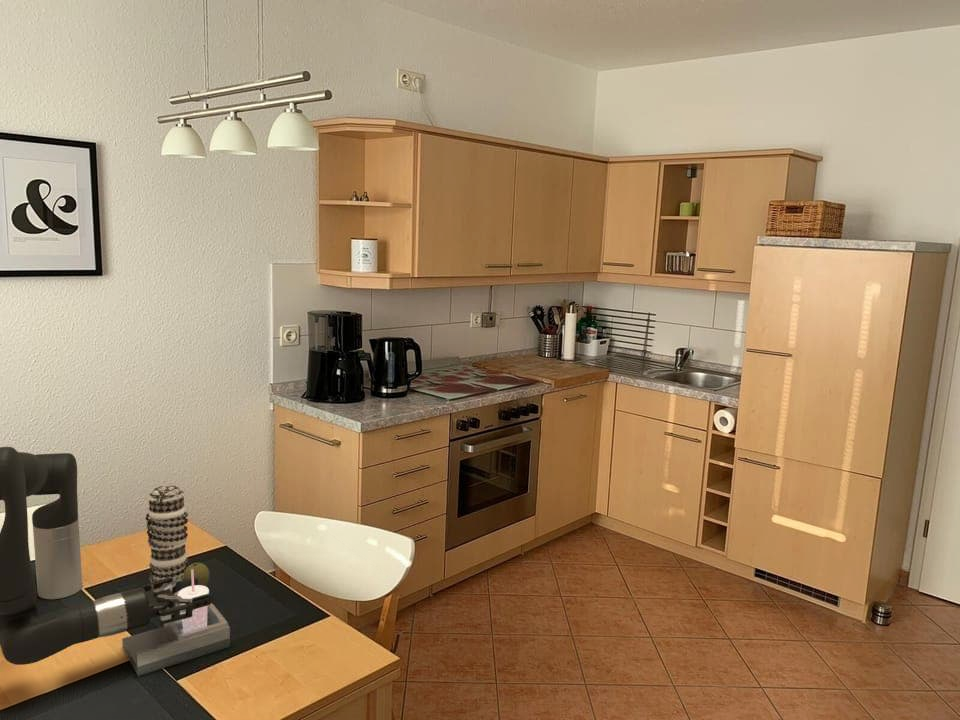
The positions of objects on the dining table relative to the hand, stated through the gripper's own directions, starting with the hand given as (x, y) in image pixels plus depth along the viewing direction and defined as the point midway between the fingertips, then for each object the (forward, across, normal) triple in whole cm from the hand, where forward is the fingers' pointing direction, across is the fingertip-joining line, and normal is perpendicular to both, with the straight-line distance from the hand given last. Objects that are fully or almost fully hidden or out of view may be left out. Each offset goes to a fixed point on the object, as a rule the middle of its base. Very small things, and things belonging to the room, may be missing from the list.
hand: (204, 590), depth 156 cm
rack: (-6, 0, +11) cm, 12 cm away
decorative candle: (0, +26, +11) cm, 28 cm away
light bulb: (+3, +15, +11) cm, 19 cm away
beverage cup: (-2, 0, +9) cm, 9 cm away
